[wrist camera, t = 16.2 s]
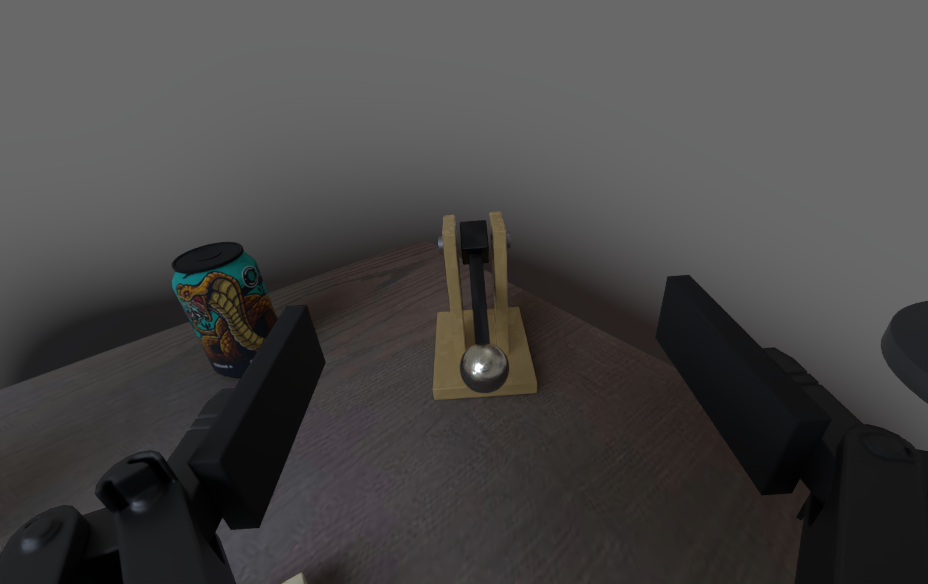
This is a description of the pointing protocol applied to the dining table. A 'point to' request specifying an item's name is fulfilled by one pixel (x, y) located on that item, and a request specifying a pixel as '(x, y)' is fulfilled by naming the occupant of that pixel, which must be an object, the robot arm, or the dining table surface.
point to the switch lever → (480, 317)
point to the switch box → (297, 579)
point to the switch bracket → (459, 325)
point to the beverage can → (224, 304)
